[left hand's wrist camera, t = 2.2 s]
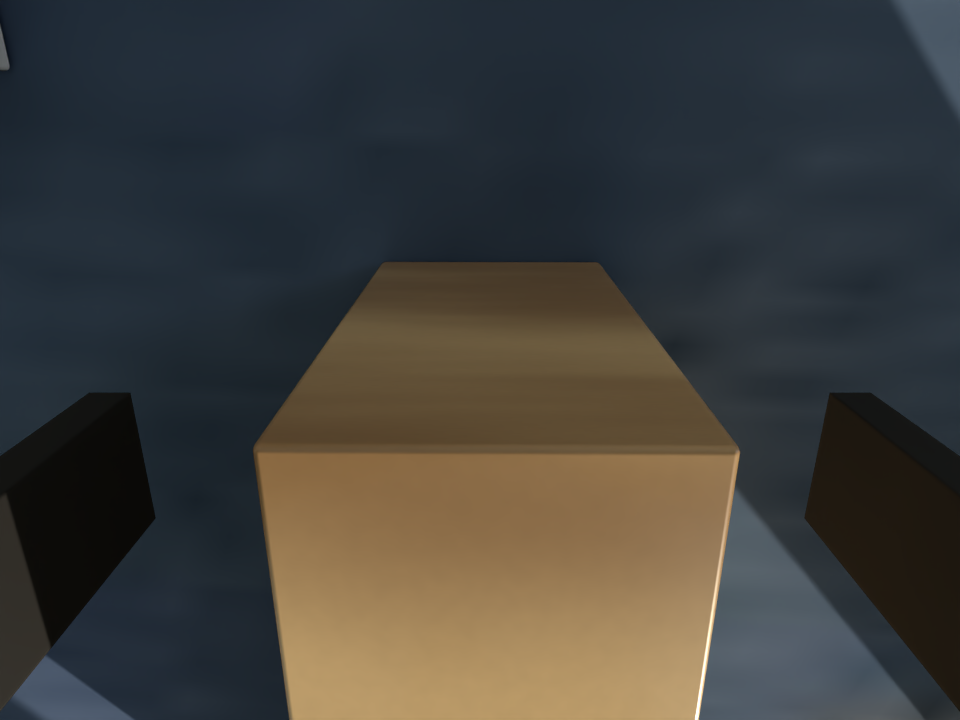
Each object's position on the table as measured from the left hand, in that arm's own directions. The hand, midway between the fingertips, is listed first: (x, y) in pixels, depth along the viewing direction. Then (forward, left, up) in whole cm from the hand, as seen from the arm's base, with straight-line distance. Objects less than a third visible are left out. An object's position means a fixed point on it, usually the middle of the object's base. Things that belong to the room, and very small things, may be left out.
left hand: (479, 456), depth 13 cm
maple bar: (0, +9, -4) cm, 10 cm away
